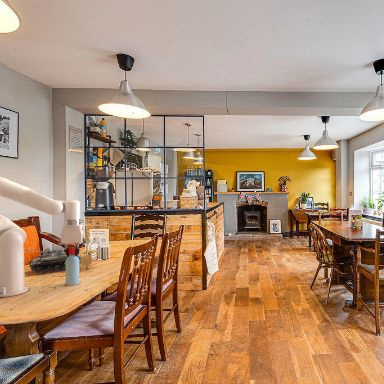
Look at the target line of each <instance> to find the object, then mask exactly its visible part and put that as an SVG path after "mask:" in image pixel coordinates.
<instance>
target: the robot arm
mask: <svg viewBox="0 0 384 384" xmlns="http://www.w3.org/2000/svg"><path fill="white" fill-rule="evenodd" d="M0 197H3V198H5V199H8V200H10V201H13V202H17V203H19V204H22V205H24V206H27V207H29V208H32V209H34V210H37V211H39V212H42V213H45V214H48V215H51V216H56V215H59V214H63V225H62V227H61V233H60V240H59V241H58V242H57V245H58V246H60V247H61V248H63V249H64V253H65V255H67V257H68V256H69V255H68V248H69V247H70V246H69V245H70V244H75V247H76V256H78V255H80V248H81V247H82V246H83V245H85V244H87V241H88V240H86V239H85V237H84V235H85V234H84V228H83V224H82V223H84V219H81V201H80V200H77V199H71V200H70V199H69V200H59V199H53V198H50V197H48V196H45V195H43V194H40V193H38V192H37V191H35V190H34V189H33V188H31V187H28V186H25V185H22V184H20V183H17V182H15V181H12V180H10V179H9V178H7V177H4V176H0ZM27 237H28V236H27V232H26V231H25V230H24V229H23V228H21V226H19V225H18V224H16V223H15V222H13V221H12V220H11V219H9V218H8V217H7V216H5V215H2V214H0V298H6V297H13V296H18V295H21V294H24V293H26V292H28V291H29V286H26V285H25V283H26V282H25V249H24V243H25V242H26V240H27Z"/></svg>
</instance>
